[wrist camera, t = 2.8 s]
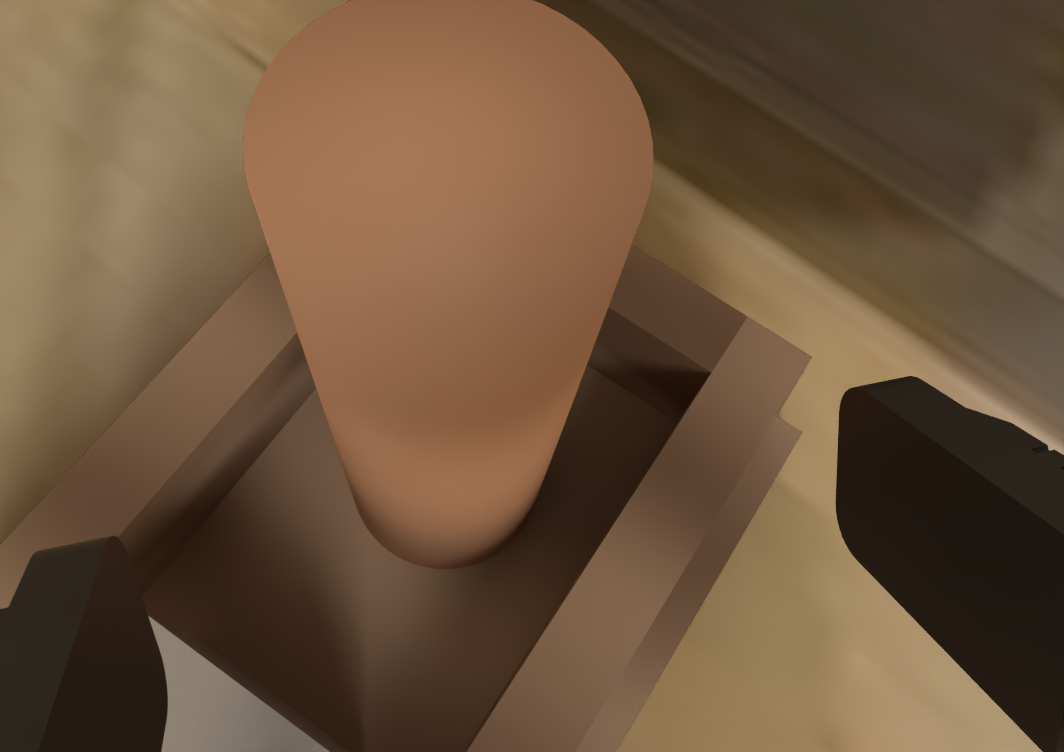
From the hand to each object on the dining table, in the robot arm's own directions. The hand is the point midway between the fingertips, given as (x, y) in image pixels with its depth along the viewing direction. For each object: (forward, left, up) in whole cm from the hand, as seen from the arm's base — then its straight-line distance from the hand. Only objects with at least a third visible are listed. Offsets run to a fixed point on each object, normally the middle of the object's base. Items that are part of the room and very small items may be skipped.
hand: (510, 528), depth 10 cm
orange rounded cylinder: (-2, -2, -9) cm, 10 cm away
